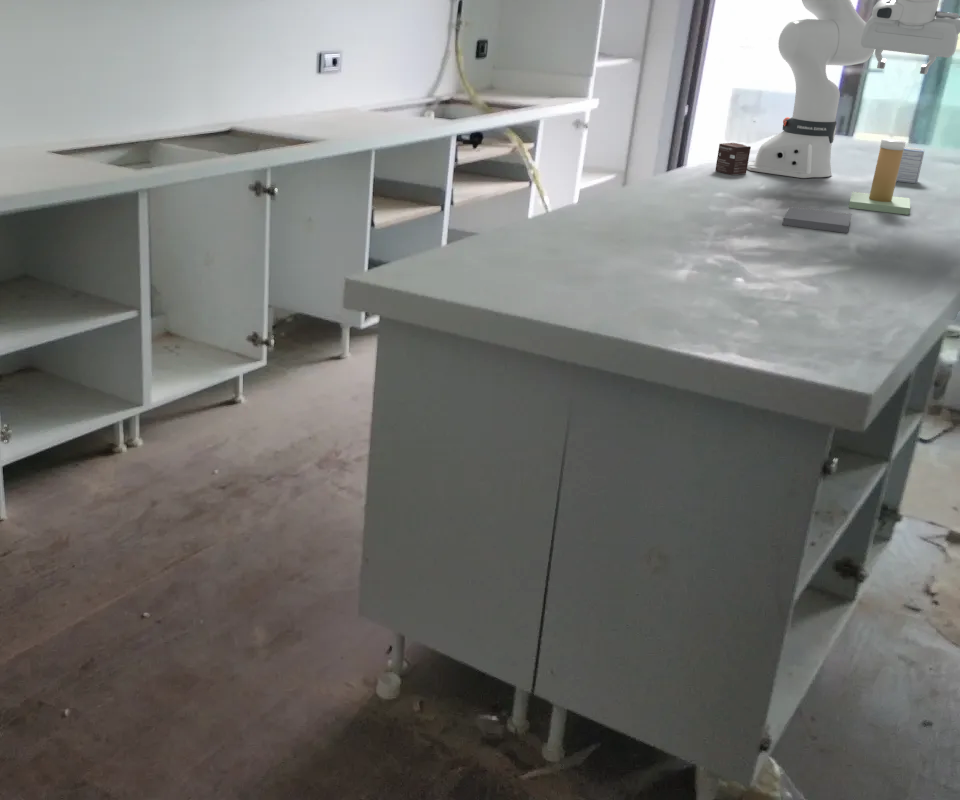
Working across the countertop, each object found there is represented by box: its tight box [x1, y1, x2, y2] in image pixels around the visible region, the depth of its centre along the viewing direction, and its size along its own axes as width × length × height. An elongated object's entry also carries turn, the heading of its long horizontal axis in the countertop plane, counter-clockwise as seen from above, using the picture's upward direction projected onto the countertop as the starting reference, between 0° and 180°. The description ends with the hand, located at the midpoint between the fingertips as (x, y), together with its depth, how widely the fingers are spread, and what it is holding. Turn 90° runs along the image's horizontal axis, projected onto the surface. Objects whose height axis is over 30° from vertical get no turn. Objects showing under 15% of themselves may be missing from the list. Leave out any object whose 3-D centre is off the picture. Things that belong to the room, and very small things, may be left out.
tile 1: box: [782, 206, 852, 234], centre depth 207 cm, size 13×13×2 cm
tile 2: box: [848, 191, 911, 216], centre depth 227 cm, size 13×13×2 cm
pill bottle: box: [869, 138, 906, 202], centre depth 224 cm, size 5×5×13 cm
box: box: [715, 142, 752, 176], centre depth 259 cm, size 6×6×7 cm
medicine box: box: [896, 146, 925, 184], centre depth 259 cm, size 8×4×9 cm, turn 65°
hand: (902, 70), depth 224 cm, fingers open, 8 cm apart
